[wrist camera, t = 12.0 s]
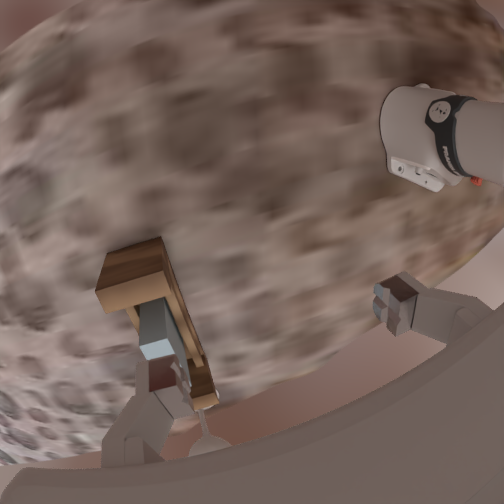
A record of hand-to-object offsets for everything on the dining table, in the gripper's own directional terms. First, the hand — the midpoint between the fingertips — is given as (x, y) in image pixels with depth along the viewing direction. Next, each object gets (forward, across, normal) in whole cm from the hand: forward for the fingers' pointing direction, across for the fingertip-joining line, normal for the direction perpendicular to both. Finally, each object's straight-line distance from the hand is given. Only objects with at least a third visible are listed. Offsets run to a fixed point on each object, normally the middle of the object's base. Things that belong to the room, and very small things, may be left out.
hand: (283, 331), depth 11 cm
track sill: (+29, +11, +18) cm, 36 cm away
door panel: (+28, +11, +18) cm, 35 cm away
